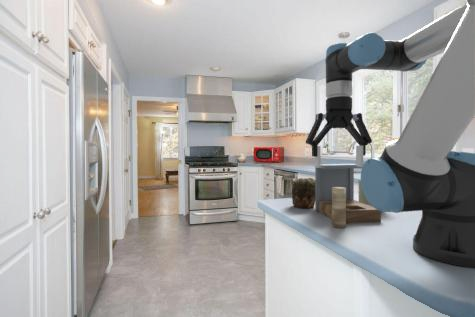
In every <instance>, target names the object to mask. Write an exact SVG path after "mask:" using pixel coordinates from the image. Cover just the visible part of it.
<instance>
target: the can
mask: <svg viewBox="0 0 475 317" xmlns="http://www.w3.org/2000/svg"><path fill="white" fill-rule="evenodd" d="M357 182H358V202H361V203H364V204H367V205H370V206H372V205H371V204H370V203H369V202H368V200H367V199H366V197H365V195H364V192H363V189H362V185H361V178H359V179H358V181H357Z"/></svg>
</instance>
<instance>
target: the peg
mask: <svg viewBox="0 0 475 317" xmlns="http://www.w3.org/2000/svg"><path fill="white" fill-rule="evenodd" d="M331 227H333V228H334V229H335V228H336V229H345V228H346V227H347V223H346V188H344V187H332V218H331Z"/></svg>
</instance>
